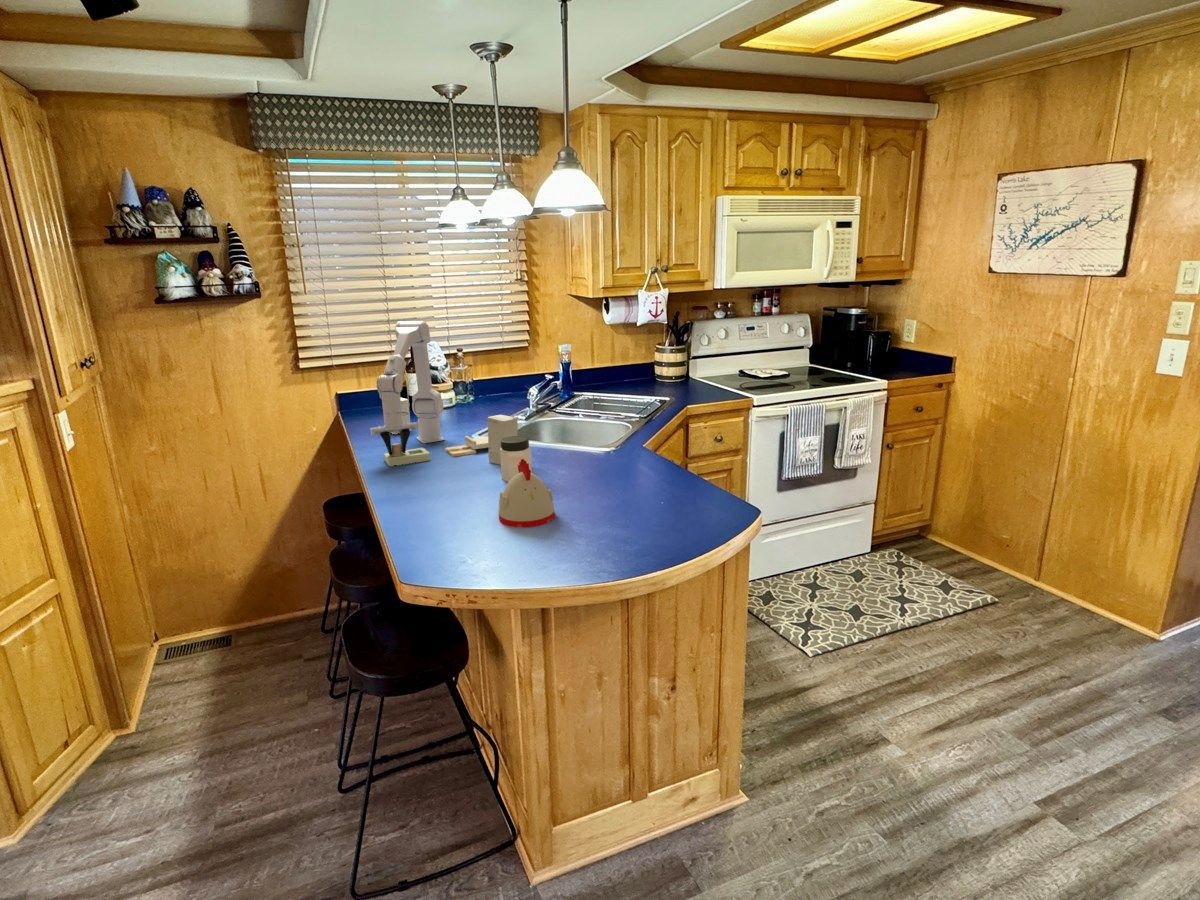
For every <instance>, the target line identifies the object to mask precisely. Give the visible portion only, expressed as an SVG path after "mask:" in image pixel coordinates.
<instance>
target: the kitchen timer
mask: <svg viewBox="0 0 1200 900" xmlns="http://www.w3.org/2000/svg"><path fill="white" fill-rule="evenodd" d="M518 471H519V473H518V474H516V475H515V476H514V477H513V478H512V479H511V480H510V481H509V482H507V484H506V485H505V487H504V489H503V492H501V491H500V492H499V500H498V504H499V506H498V520H499V523H501V524H502V525H504V526H507V527H512V528H522V529H524V528H534V527H539V526H543V525H546V524H548V523H550V522H552V521H553V520H554V519H555V506H554V505H555V504H554V498H553V493H552V490H551V488H549V489H548V488H547V486H546V485H545V483H544V481H543V480H541V479H540V477H538V476H537V475H536V474H534V473H533V472H532V473H531V470H529V463H527V462H526V461H525V460H524V459H521V462H519V465H518Z"/></svg>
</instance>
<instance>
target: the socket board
mask: <svg viewBox="0 0 1200 900" xmlns="http://www.w3.org/2000/svg"><path fill="white" fill-rule="evenodd" d="M383 460H385V461H386V462H385V461H384V462H385V463H386V465H388V466H389V467H390V466H391V467H395V466H394V465H397V466H402V464H403V465H408V464H409V463H410V464H415V462H416V463H420V462H421V463H422V462H426V461H427V462H428V461H431V454H430V452H429V451H428V450H427V449H426V448H424V447H418V448H412V449H406V453H403V452H402V456H398V457H393V456H392V455H389V453H388V452H387V453H386V452H385V453H383ZM410 464H409V465H410Z"/></svg>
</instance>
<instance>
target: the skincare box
mask: <svg viewBox="0 0 1200 900" xmlns="http://www.w3.org/2000/svg"><path fill="white" fill-rule="evenodd" d="M518 422H519V421H518V418H517V417H513V416H510V415H505V414H496V415H489V416H488V417H487V437H488V447H487V448H488V462H489V463H491V464H496V465H500V466H501V460H500V449H501V439H503V438H505V437H510V436H519V435H518V434H519V433H518V431H519V430H518V429H519V428H518Z"/></svg>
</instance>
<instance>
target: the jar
mask: <svg viewBox="0 0 1200 900" xmlns="http://www.w3.org/2000/svg"><path fill="white" fill-rule="evenodd" d="M531 448H532V447H531V446H530V440H529V437H527V436H525V435H524V436H523V435H518V436H510V437H505V438H503V439H501V449H500V460H501V465H500V471H501V480H503V481H505V482H507V483H508V482H509V481H510V480H511V479H512V478H513V477H514V476H515V475H516V474H518V473H519V471H518V465H519V462H521V459H524V460H525V461H526V462H527V463H529V470H531V473H532V474H533V469H532V468H533V465H532V449H531Z"/></svg>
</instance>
